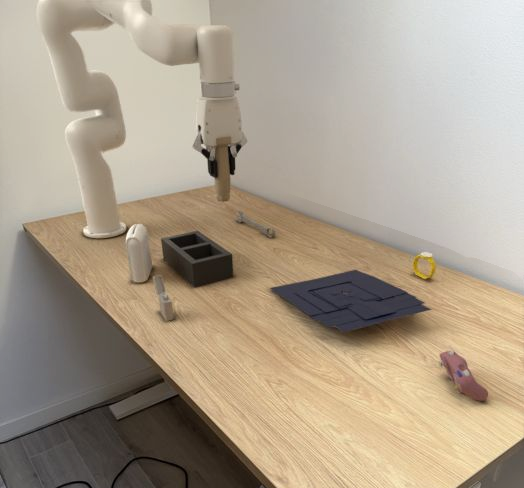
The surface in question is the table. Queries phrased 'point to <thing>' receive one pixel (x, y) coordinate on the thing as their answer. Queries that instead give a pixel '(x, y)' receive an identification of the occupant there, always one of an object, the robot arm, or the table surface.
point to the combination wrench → (255, 224)
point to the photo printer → (138, 253)
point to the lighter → (163, 298)
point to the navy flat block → (350, 300)
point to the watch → (433, 267)
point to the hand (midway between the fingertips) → (222, 174)
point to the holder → (197, 258)
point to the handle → (222, 169)
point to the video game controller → (462, 376)
